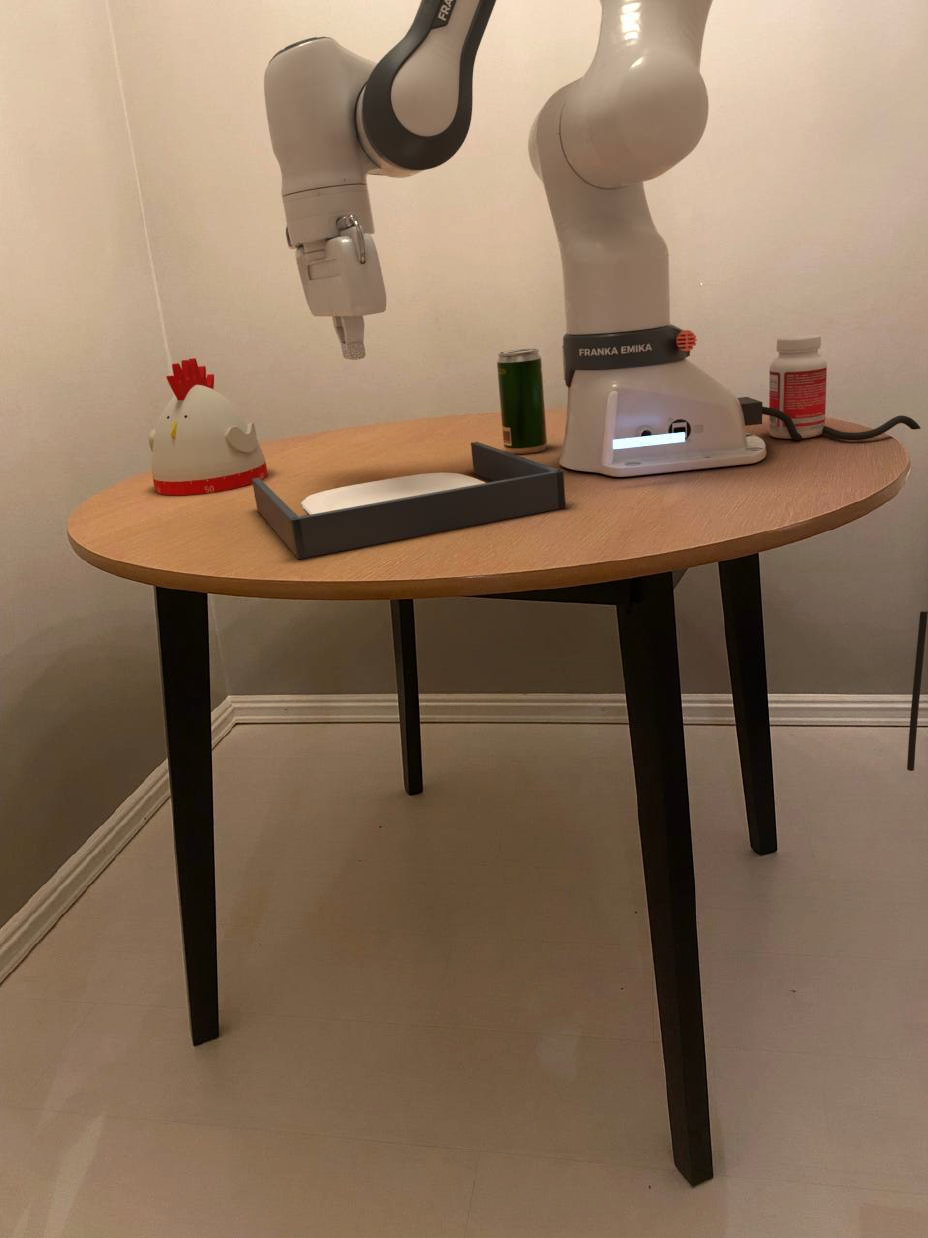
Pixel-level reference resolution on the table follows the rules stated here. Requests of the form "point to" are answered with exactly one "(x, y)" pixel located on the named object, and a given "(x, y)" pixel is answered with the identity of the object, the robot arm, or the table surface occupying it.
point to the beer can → (522, 401)
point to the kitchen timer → (202, 439)
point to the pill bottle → (798, 386)
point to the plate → (385, 491)
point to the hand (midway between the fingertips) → (354, 358)
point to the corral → (421, 507)
